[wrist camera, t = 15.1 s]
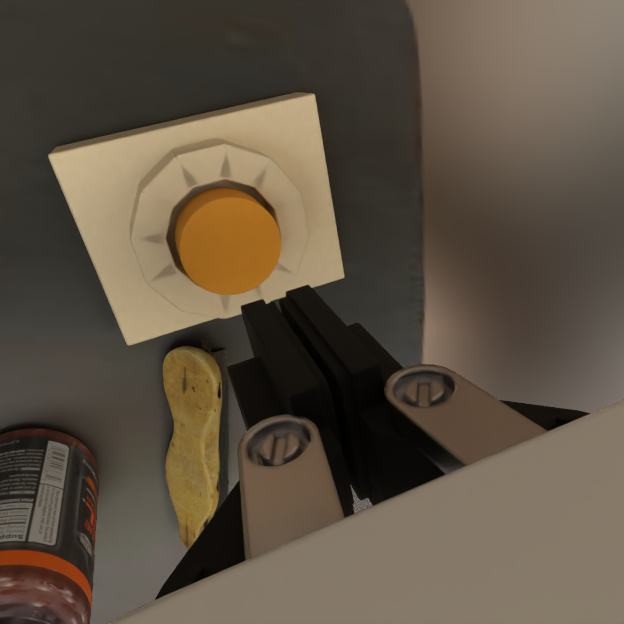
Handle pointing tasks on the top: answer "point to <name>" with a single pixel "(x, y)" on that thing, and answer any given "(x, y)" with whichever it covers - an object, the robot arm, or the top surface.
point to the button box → (182, 188)
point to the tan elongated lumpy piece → (197, 435)
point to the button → (227, 241)
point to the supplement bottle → (46, 527)
